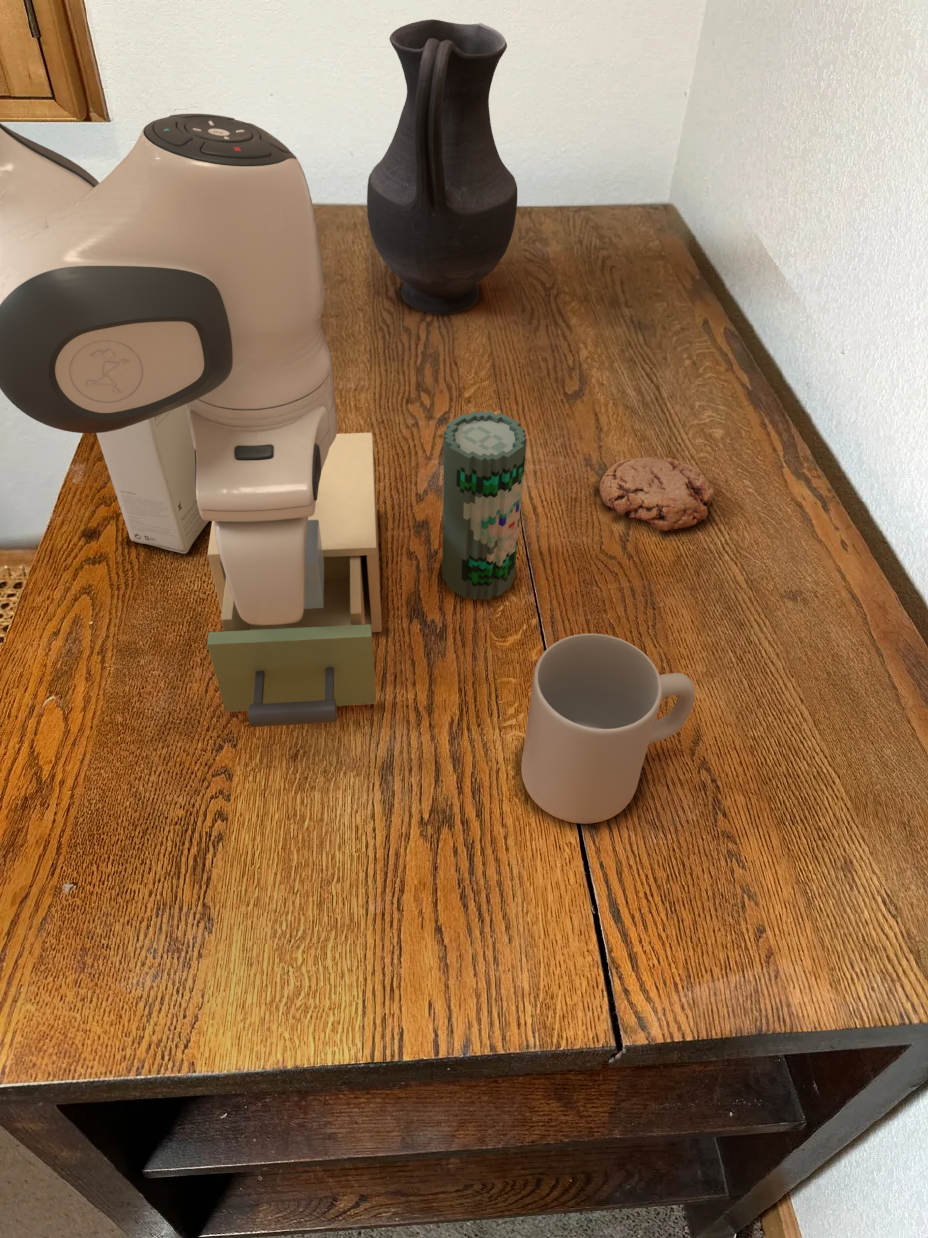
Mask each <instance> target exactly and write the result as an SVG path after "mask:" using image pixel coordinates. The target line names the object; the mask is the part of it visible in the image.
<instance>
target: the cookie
mask: <svg viewBox="0 0 928 1238" xmlns="http://www.w3.org/2000/svg"><path fill="white" fill-rule="evenodd" d="M599 494H600V497H601V500H602V503H603V504H604V505H605V506H606V507H609V508H611V509H612V510H615V511H616V513H618V514H619V515H622V516H623V515H628V518H629V519H637V520H641V521H646V522H648V523H649V524H650V525H651V526H652V527H653V528H654V529H659V530H661V531H669V530H676V529H681V528H688V527H693V526H694V525H697V524H698V523H701V521H703V520H704V521H705V520H706V518H708V517H707V516H708V515H709V512H708V508H709V506H710V505H711V503H712V501H713V498H714V497H715V489H714V488H713V486H712V484H711V483H710V482H709V481H708V480H707V479H706V478H705V477H704V476H703V475H701V472H700V471H699V470H698V469H696V468H695V467H694V466H692V465H691V464H689V463H687V464H686V463H684V462H682V461H680V460H679V461H678V460H677V459H673V458H669V457H668V458H663V459H660V458H659V459H658V458H656V457H649V456H644V457H638V458H633V459H630V458H625V459H622V460H620V461H617V462H616V463H614V464H612V465H611V466H610V467H609V468H608V469H607V471H606V472H605V473H604V475H603V476H602V478H601V480H600V482H599Z"/></svg>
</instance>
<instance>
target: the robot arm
mask: <svg viewBox="0 0 928 1238" xmlns="http://www.w3.org/2000/svg"><path fill="white" fill-rule="evenodd" d="M319 237H320V236H319V231H318V225H317V220H316V215H315V209H314V205H313V199H312V195H311V191H310V187H309V184H308V181H307V178H306V174H305V171H304V168H303V167H302V164H301V162H300V161H299V158H298V157H297V156H296V155H295V153H293V151H291V150H290V148H288V147H287V146H286V145H285V144H284V143H283V142H282V141H281V140H279V139H277V138H276V137H275V136H274V135H272V133H270V132H268V131H266V130H265V129H263V128H261V127H259V126H257V125H256V124H254V123H252V122H245V121H242V120H239V119H236V118H234V117H230V116H225V115H220V114H219V115H218V114H209V113H180V114H179V113H177V114H171V115H169V116H166V117H161V118H158V119H155V120H152V121H151V122H149V123H148V124H146V125H145V126H144V127H143V128H142V129H141V132H140V133H139V136H138V137H137V141H136V142H135V144H134V145H133V147H132V149H131V150H130V151H129V152H128V154H127V155H126V156H125V157H124V158H123V159H122V160H121V161H120V162H119V163H118V164H117V165H116V166H115V167H114V169H112V171H111V172H109V174H108V175H107V176H105V177H104V178H103V179H102V180H100V182H99V181H98V179H97V178H95V176H93V175H92V174H91V173H90V172H89V171H87V170H86V169H85V168H83V167H82V166H81V165H79V164H78V163H75V161H73V160H71V159H69V158H67V157H66V156H64V155H62V154H60V153H58V152H56V151H54V150H52V149H50V148H48V147H47V146H44V145H42V144H40V143H37V142H35V141H33V140H32V139H29V138H28V137H25V136H23V135H21V134H19V133H17V132H16V131H14V130H12V129H10V128H9V127H7V126H5V125H4V124H2V123H1V122H0V391H1V392H2V393H3V395H4V396H5V397H6V398H7V399H8V400H9V402H10V403H11V404H13V406H15V407H16V408H17V409H18V410H19V411H21V412H22V413H23V414H24V415H26V416H28V417H30V418H31V419H32V420H34V421H36V422H39V423H41V424H43V425H45V426H48V427H50V428H54V429H57V430H59V431H64V432H69V433H75V434H76V433H77V434H96V433H103V432H109V431H114V430H118V429H122V428H125V427H128V426H131V425H134V424H137V423H139V422H142V421H145V420H147V419H150V418H153V417H155V416H158V415H161V414H163V413H166V412H168V411H171V410H173V409H175V408H178V407H180V406H183V405H185V404H186V408H187V413H188V415H187V418H188V423H189V428H190V432H191V437H192V441H193V445H194V448H195V487H196V500H197V505H198V509H199V513H200V516H201V518H202V519H203V520H205V521H209V522H212V521H214V528H215V535H216V541H217V546H218V550H219V554H220V558H221V561H222V565H223V568H224V571H225V575H226V578H227V581H228V584H229V587H230V591H231V594H232V596H233V599H234V602H235V605H236V608H237V611H238V613H239V615H240V617H241V618H242V619H243V620H244V621H245V622H247V623H249V624H252V625H279V624H288V623H295V622H298V621H300V620H301V618H302V616H303V613H304V604H305V566H306V537H307V525H308V517H310V516H312V515H313V514H314V513H315V506H316V500H317V496H318V488H319V481H320V477H321V471H322V468H323V465H324V463H325V460H326V458H327V455H328V452H329V448H330V446H331V445H332V443H333V442H334V440H335V438H336V435H337V434H338V428H339V423H338V414H337V403H336V393H335V381H334V380H335V379H334V371H333V370H334V369H333V360H332V359H333V358H332V353H331V350H330V347H329V343H328V341H327V339H326V338H325V335H324V331H323V327H322V316H323V312H324V307H325V303H326V284H325V283H326V282H325V276H324V267H323V266H324V265H323V258H322V250H321V249H322V248H321V245H320V238H319Z"/></svg>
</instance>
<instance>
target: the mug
mask: <svg viewBox="0 0 928 1238" xmlns="http://www.w3.org/2000/svg"><path fill="white" fill-rule="evenodd" d="M672 696H677V698H676V701H675V703H674V705H673V707H672V708H671V710H670V711H669V712H668V713H667V714H666V715H664V716H662V717H661V718H658V719H657V717H658V713H659V710H660V706H661V701H662V699H665V698H668V697H672ZM695 699H696V692H695V686H694V684H693V680H692V679H691V678H690V677H689V676H687V675H686V674H684V673H680V672H671V673H663V674H660V673H659V671H658V669H657V667H656V665H655V664H654V662H653V660H651V658H649V656H648V655H647V654H646V653H644V652H643V650H641V649H639V647H637V646H635V645H633V644H632V643H630V642H628V641H626V640H624V639H622V638H620V637H617V636H613V635H609V634H603V633H592V632H591V633H589V632H588V633H579V634H574V635H570V636H566V637H564V638H561V639H559V640H558V641H555V642H554V643H552V644H551V645H549V647H548V648H546V649H545V650H544V651H543V652H542V654H541V655H540V657H539V658H538V659H537V662H536V664H535V667H534V671H533V675H532V681H531V688H530V697H529V704H528V711H527V713H528V714H527V720H526V721H527V722H526V729H525V738H524V743H523V744H524V745H523V749H522V750H523V751H522V756H521V768H520V769H521V771H520V772H521V778H522V781H523V785H524V788H525V790H526V792H527V793H528V795H529V796H530V798H531V800H532V801H533V802H534V803H535V804H536V805H537V806H538V807H539V808H540V809H541V810H543V811H544V812H545V813H547V814H549V815H551V816H552V817H555V818H557V819H558V820H562V821H564V822H569V823H573V824H586V825H587V824H594V823H595V824H596V823H602V822H603V821H607V820H609V819H612V818H613V817H615V816H617V815H618V814H620V813H621V812H622V811H623V810H624V809H626V807H627V806H628V805H629V804H630V803H631V801H632V800H633V798H634V796H635V793H636V791H637V789H638V785H639V782H640V781H639V780H640V776H641V772H642V768H643V765H644V761H645V758H646V756H647V755H646V754H647V751H648V749H649V745H651V744H654V743H657V742H660V741H663V740H666V739H669V738H671V737H673V736H674V735H676V734H678V733H679V732H680V731H681V730H682V728H683V727H684V726H685V724H686V723H687V721H688V720H689V718H690V716H691V714H692V711H693V708H694V705H695V702H696V701H695Z"/></svg>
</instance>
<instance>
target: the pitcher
mask: <svg viewBox="0 0 928 1238" xmlns="http://www.w3.org/2000/svg"><path fill="white" fill-rule="evenodd" d="M389 42H390V44H391V46H392V48H393V49H394V51H395V53H396V55H397V57H398V59H399V61H400V65H401V68H402V72H403V75H404V80H405V84H406V97H405V101H404V105H403V107H402V110H401V113H400V117H399V119H398V122H397V123H398V124H397V127H396V130H395V132H394V134H393V137H392V140H391V142H390V144H389V146H388V148H387V150H386V152H385V153H384V154H383V156H382V159H380V161H378V162H377V164H376V165H375V166H374V167H373V169H372V170H371V172H370V174H369V175H368V181H367V189H366V191H367V192H366V210H367V211H366V213H367V220H368V226H369V231H370V234H371V238H372V241H373V243H374V246H375V249H376V250H377V252H378V255H379V257H380V258H381V259H382V261H383V262H384V263H385V265H386V267H387V268H389V269H390V271H391V272H392V273H393V274H395V275H396V276H397V278H399V279H400V280H401V281H402V282H403V284H402V286H401V291H400V296H401V298H402V300H403V301H404V302H405V303H406V304H408V305H409V306H410V307H412V308H414V309H416V310H419V311H422V312H426V313H429V314H437V315H443V314H445V315H446V314H447V315H448V314H457V313H460V312H463V311H465V310H468V309H470V308H471V307H473V306H474V305H475V304H476V303H477V302H478V299H479V297H480V290H479V287H478V283H480V282H481V281H483V280H484V279H486V278H487V277H488V276H489V275H490V274H491V273H492V271H494V270H495V269H496V267H497V266H498V265H499V263H500V262H501V261H502V259H503V257H504V256H505V254H506V252H507V250H508V247H509V245H510V242H511V239H512V237H513V232H514V229H515V223H516V218H517V209H518V185H517V181H516V177H514V175H513V174H512V172H511V171H509V169H508V168H507V166H506V165H505V164H504V162H503V161H502V158H501V156H500V154H499V151H498V148H497V146H496V142H495V138H494V134H493V128H492V123H491V114H490V113H491V112H490V101H489V100H490V92H491V87H492V82H493V80H494V79H493V78H494V75H495V72H496V69H497V67H498V64H499V63H500V60H501V58H502V57H503V55H504V53H505V52H506V50H507V48H508V44H507V43H508V42H507V41H506V39H505V36H504V35H503V34H502V33H501V32H500V31H499V30H497V29H495V28H494V27H491V26H489V25H487V24H485V23H482V22H479V23H470V24H467V23H457V22H449V21H444V20H440V19H431V18H430V19H425V20H419V21H413V22H411V23H407V24H404V25H402V26H400V27H398V28H396V29H395V30H394V31H392V33H391V34H390V36H389Z"/></svg>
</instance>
